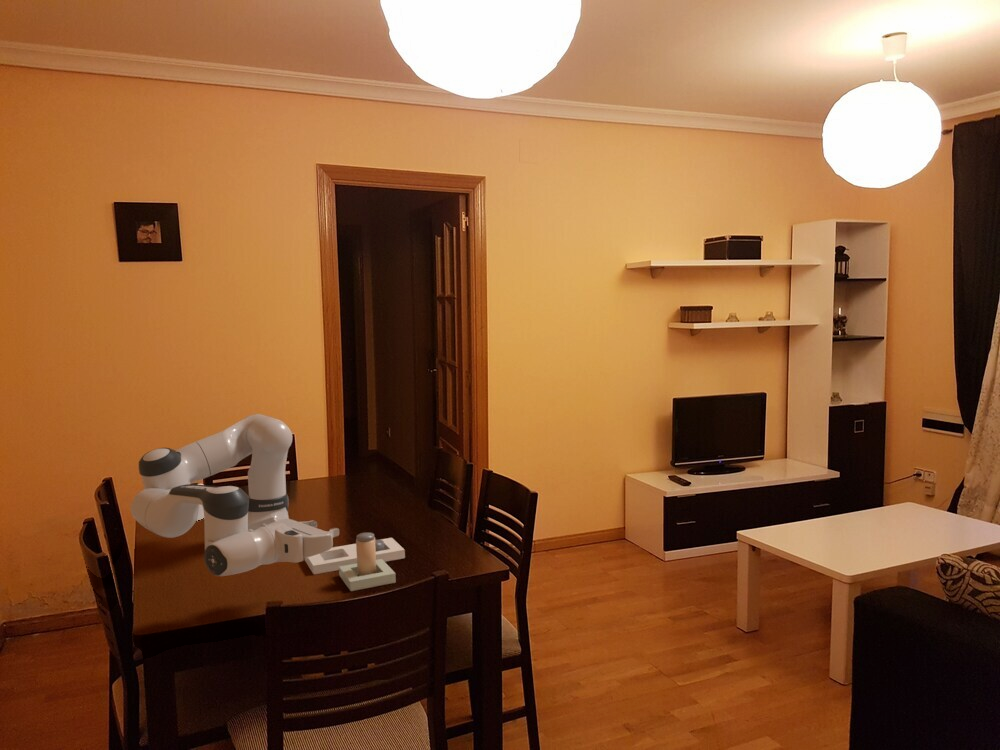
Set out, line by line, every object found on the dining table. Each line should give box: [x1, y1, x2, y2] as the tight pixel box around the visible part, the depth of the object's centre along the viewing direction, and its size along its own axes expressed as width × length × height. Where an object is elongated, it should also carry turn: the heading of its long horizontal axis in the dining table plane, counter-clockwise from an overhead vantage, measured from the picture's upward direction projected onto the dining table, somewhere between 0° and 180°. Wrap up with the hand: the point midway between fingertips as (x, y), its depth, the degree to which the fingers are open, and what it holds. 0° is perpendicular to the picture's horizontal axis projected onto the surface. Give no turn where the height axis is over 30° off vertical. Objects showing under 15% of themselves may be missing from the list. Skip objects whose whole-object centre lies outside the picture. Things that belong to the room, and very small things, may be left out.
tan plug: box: [355, 532, 376, 577], centre depth 191 cm, size 5×5×12 cm
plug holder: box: [338, 559, 397, 592], centre depth 192 cm, size 12×12×2 cm
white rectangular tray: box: [304, 537, 406, 575], centre depth 206 cm, size 26×12×4 cm, turn 116°
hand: (326, 527), depth 180 cm, fingers open, 8 cm apart
